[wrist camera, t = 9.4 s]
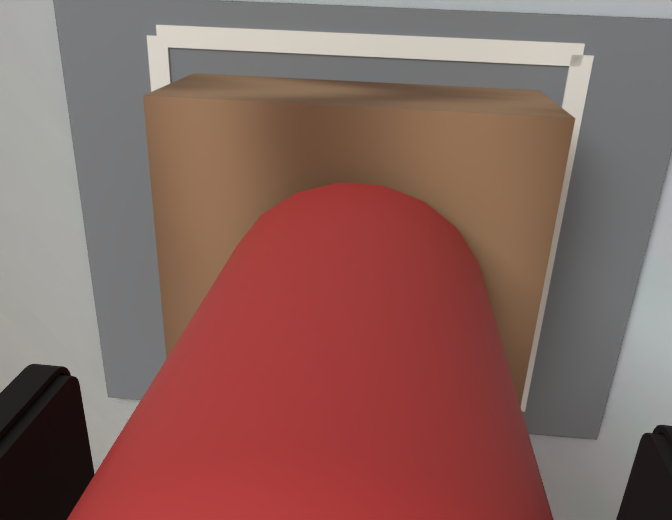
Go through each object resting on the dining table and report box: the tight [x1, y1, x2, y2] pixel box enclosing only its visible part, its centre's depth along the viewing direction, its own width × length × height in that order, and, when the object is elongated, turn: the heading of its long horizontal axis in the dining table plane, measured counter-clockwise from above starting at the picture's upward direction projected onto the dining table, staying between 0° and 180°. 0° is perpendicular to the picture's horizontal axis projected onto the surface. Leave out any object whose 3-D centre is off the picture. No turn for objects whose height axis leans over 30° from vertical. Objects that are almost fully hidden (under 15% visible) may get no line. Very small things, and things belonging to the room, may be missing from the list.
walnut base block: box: [143, 73, 575, 407], centre depth 18 cm, size 10×10×4 cm
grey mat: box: [53, 0, 672, 440], centre depth 20 cm, size 18×14×1 cm
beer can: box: [67, 182, 553, 520], centre depth 11 cm, size 7×7×12 cm
